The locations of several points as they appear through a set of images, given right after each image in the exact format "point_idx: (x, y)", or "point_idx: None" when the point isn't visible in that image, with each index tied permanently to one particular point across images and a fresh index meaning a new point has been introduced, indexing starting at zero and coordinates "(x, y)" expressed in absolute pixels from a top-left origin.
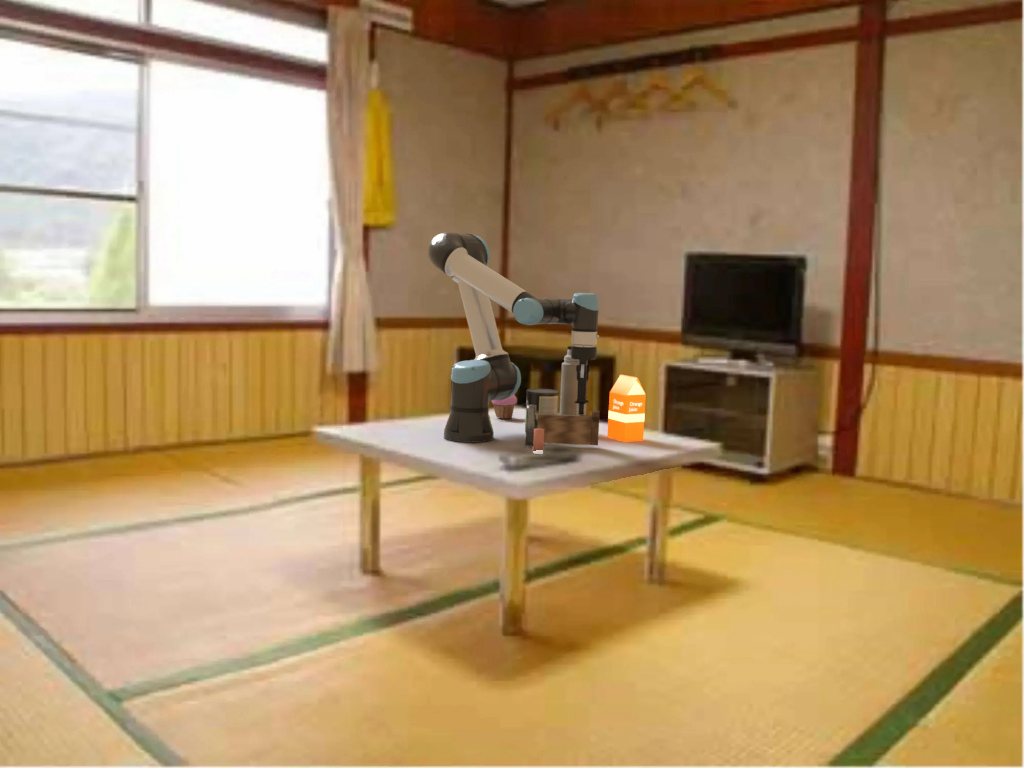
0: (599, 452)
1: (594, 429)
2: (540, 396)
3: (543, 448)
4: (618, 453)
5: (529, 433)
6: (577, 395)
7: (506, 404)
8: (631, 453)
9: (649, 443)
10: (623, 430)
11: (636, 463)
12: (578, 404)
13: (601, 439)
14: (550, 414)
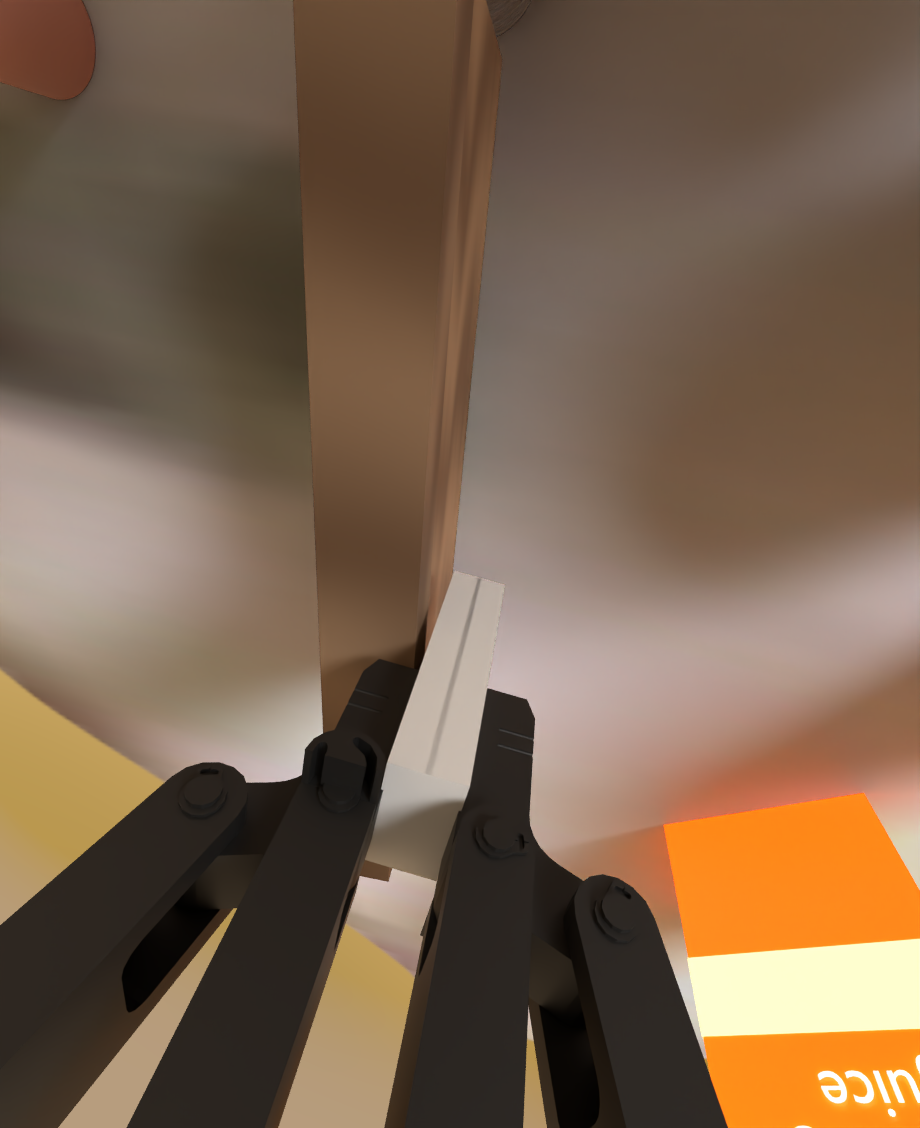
0: (273, 595)
1: None
2: None
3: (2, 82)
4: (272, 689)
5: None
6: (63, 873)
7: None
8: (291, 748)
9: None
10: (693, 892)
11: (29, 690)
12: (387, 764)
13: (773, 735)
14: (403, 208)
